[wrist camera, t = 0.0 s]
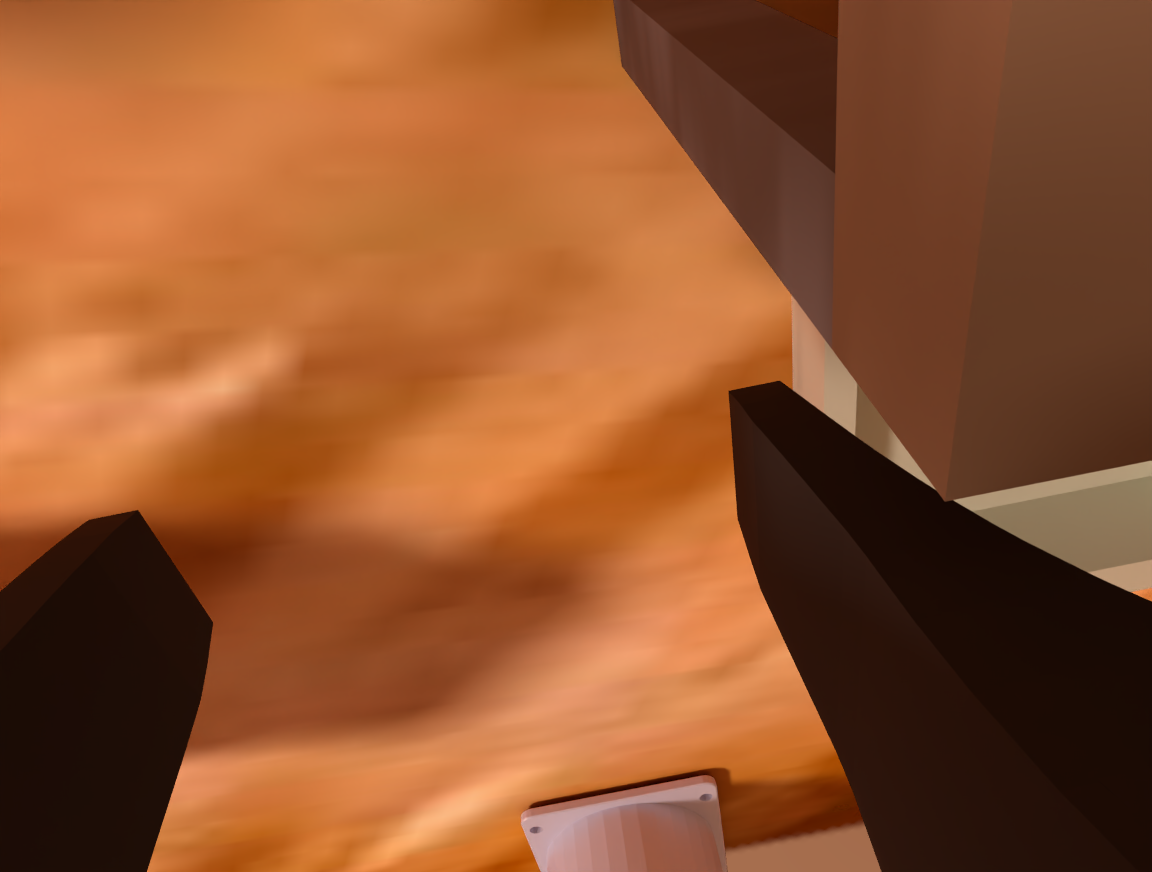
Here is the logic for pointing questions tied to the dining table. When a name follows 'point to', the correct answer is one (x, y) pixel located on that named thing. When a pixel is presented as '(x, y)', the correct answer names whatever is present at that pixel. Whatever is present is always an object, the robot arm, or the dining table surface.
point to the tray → (1033, 512)
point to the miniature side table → (941, 208)
